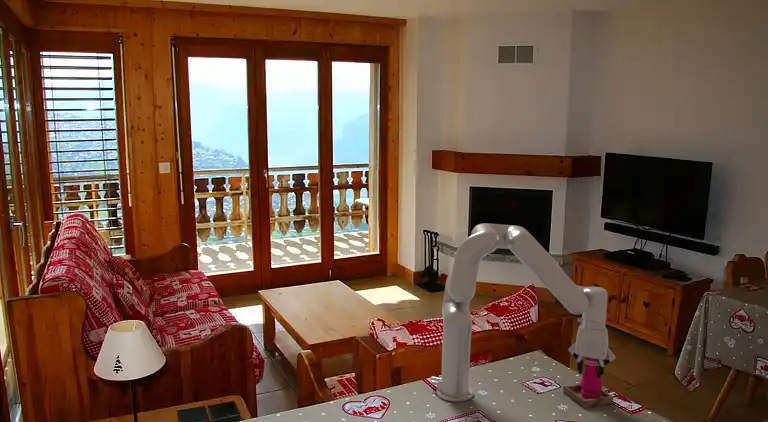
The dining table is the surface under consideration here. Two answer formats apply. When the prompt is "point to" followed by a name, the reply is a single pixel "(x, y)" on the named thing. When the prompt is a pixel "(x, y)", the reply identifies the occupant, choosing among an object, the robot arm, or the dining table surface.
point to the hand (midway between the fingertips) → (590, 373)
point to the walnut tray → (575, 395)
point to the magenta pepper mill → (591, 380)
